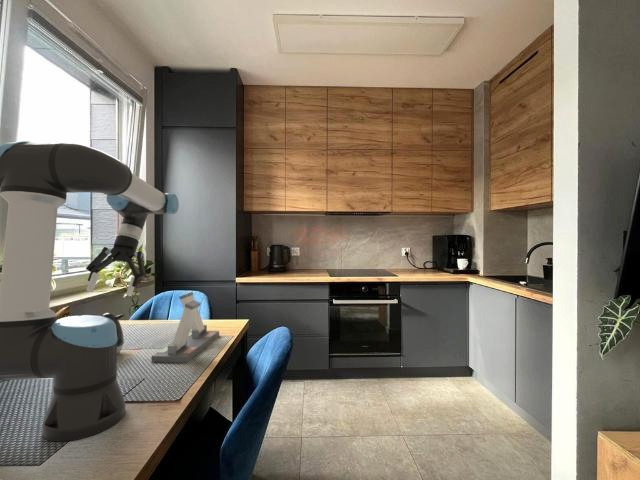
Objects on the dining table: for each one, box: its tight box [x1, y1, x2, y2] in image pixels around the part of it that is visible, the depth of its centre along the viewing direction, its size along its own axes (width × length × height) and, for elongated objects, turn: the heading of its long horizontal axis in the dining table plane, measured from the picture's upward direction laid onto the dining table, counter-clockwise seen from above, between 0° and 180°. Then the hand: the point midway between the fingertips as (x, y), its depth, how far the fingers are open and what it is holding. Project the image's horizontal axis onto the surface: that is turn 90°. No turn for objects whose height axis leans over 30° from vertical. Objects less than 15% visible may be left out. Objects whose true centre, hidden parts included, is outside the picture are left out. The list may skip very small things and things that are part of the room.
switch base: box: [151, 324, 220, 364], centre depth 122 cm, size 12×30×5 cm, turn 177°
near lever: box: [171, 300, 201, 351], centre depth 113 cm, size 3×6×18 cm, turn 177°
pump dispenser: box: [100, 312, 126, 354], centre depth 114 cm, size 10×10×15 cm
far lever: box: [178, 291, 205, 335], centre depth 131 cm, size 3×6×18 cm, turn 177°
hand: (109, 293), depth 113 cm, fingers open, 13 cm apart
